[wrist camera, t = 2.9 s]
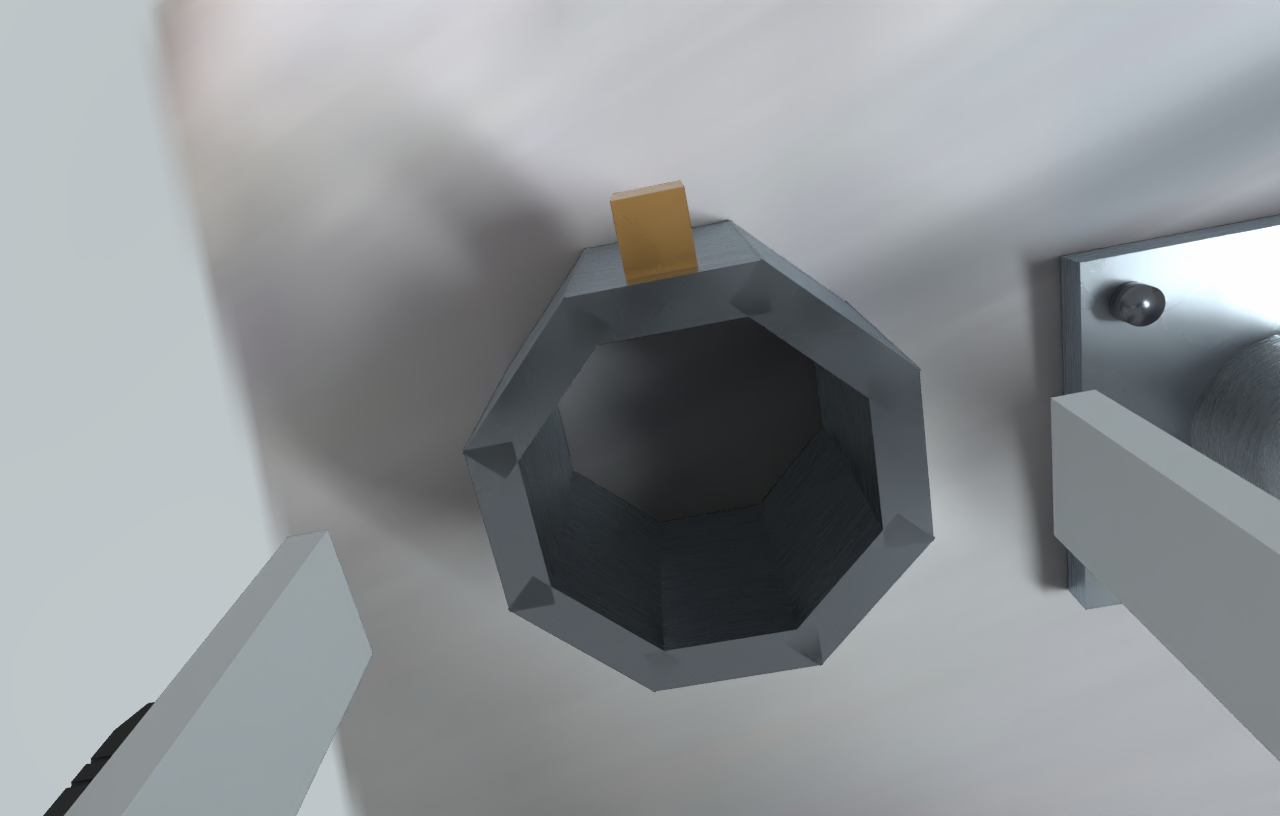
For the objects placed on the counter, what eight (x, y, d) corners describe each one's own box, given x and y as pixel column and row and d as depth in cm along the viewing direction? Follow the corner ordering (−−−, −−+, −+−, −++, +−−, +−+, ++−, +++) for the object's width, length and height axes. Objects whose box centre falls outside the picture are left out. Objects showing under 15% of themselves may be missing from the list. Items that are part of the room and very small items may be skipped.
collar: (871, 518, 23) (943, 646, 18) (562, 571, 24) (537, 711, 18) (828, 137, 20) (901, 146, 14) (468, 210, 21) (402, 245, 15)
